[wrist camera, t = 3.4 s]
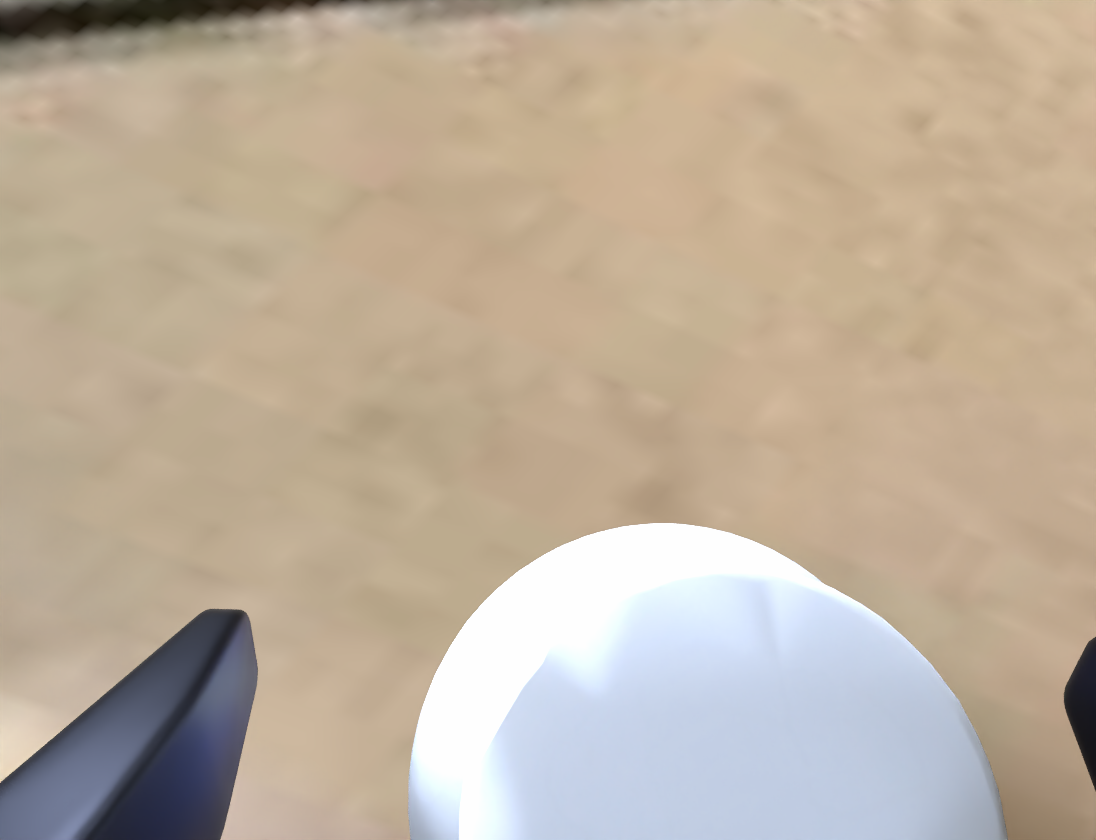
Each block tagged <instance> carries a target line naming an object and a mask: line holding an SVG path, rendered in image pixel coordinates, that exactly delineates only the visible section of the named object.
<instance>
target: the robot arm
mask: <svg viewBox="0 0 1096 840" xmlns="http://www.w3.org/2000/svg"><path fill="white" fill-rule="evenodd" d="M257 676H258V667H257V660H256V654H255V648H254V642H253V636H252V630H251V624H250V620H249V617H248V615H247V613H246V612H244V611H242V610H234V609H208V610H205V611H203V612H202V613H200V614H199V615H198V616H197V617H195V618H194V619H193V620H192V621H191V622H189V623H188V624H187V625H186V626H185V627H184V628H182V629H181V630H180V631H179V632H178V633H176V634H175V635H174V636H173V637H172V638H171V639H169V640H168V641H167V642H166V643H165V644H163V645H162V646H161V647H160V648H159V649H158V650H156V651H155V652H154V653H153V654H152V655H150V656H149V657H148V658H147V659H146V660H145V661H143V662H142V663H141V664H140V665H139V666H137V667H136V668H135V669H134V670H133V671H132V672H130V673H129V674H128V675H127V676H126V677H124V678H123V679H122V680H121V681H120V682H119V683H117V684H116V685H115V686H114V687H113V688H112V689H110V690H109V691H108V692H107V693H106V694H104V695H103V696H102V697H101V698H100V699H99V700H97V701H96V702H95V703H94V704H93V705H91V706H90V707H89V708H88V709H87V710H86V711H84V712H83V713H82V714H81V715H80V716H78V717H77V718H76V719H75V720H74V721H73V722H71V723H70V724H69V725H68V726H67V727H65V728H64V729H63V730H62V731H61V732H60V733H58V734H57V735H56V736H55V737H54V738H52V739H51V740H50V741H49V742H48V743H47V744H45V745H44V746H43V747H42V748H41V749H40V750H38V751H37V752H36V753H35V754H34V755H32V756H31V757H30V758H29V759H28V760H27V761H25V762H24V763H23V764H22V765H21V766H19V767H18V768H17V769H16V770H15V771H14V772H12V773H11V774H10V775H9V776H8V777H6V778H5V779H4V780H3V781H2V782H1V783H0V840H220V839H221V836H222V832H223V829H224V826H225V822H226V817H227V813H228V809H229V805H230V801H231V797H232V792H233V788H234V783H235V779H236V775H237V770H238V766H239V761H240V757H241V753H242V748H243V744H244V739H245V735H246V731H247V726H248V722H249V717H250V713H251V709H252V704H253V700H254V695H255V691H256V686H257ZM1064 704H1065V709H1066V713H1067V716H1068V718H1069V721H1070V724H1071V726H1072V729H1073V732H1074V734H1075V737H1076V740H1077V742H1078V745H1079V748H1080V750H1081V753H1082V756H1083V758H1084V761H1085V764H1086V766H1087V769H1088V772H1089V775H1090V777H1091V780H1092V783H1093V785H1094V788H1095V791H1096V637H1095V638H1093V639H1092V640H1090V641H1089V642H1088V644H1087V645H1086V647H1085V649H1084V651H1083V653H1082V655H1081V657H1080V659H1079V661H1078V663H1077V665H1076V667H1075V669H1074V671H1073V673H1072V675H1071V677H1070V679H1069V681H1068V682H1067V685H1066V687H1065V692H1064Z"/></svg>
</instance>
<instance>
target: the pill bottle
mask: <svg viewBox="0 0 1096 840" xmlns="http://www.w3.org/2000/svg"><path fill="white" fill-rule="evenodd" d="M408 814H409V825H410V837H411V840H1008V836H1007V831H1006V826H1005V821H1004V816H1003V810H1002V804H1001V800H1000V795H999V791H998V788H997V785H996V782H995V779H994V775H993V772H992V769H991V766H990V763H989V761H988V759H987V756H986V754H985V752H984V749H983V747H982V745H981V742H980V740H979V738H978V735H977V733H976V731H975V730H974V728H973V726H972V724H971V722H970V721H969V719H968V717H967V715H966V713H965V711H964V710H963V708H962V706H961V704H960V702H959V700H958V699H957V697H956V696H955V695H954V694H953V692H952V691H951V690H950V688H949V687H948V686H947V684H946V683H945V682H944V680H943V679H942V678H941V677H940V675H939V674H938V673H937V671H936V670H935V669H934V667H933V666H932V665H931V664H930V663H929V662H928V661H927V660H926V659H925V658H924V657H923V656H922V655H921V653H920V652H919V651H918V650H917V649H916V648H915V647H914V646H913V645H912V644H911V643H910V642H909V641H908V640H906V639H905V638H904V637H903V636H902V635H901V634H900V633H899V632H898V631H896V630H895V629H894V628H893V627H892V626H891V625H890V624H889V623H887V622H886V621H885V620H884V619H883V618H881V617H880V616H878V615H877V614H875V613H874V612H872V611H871V610H869V609H868V608H867V607H865V606H864V605H862V604H860V603H859V602H857V601H855V600H853V599H851V598H850V597H848V596H846V595H844V594H842V593H841V592H839V591H837V590H835V589H833V588H831V587H829V586H826V585H824V584H823V583H822V582H821V581H820V580H818V579H817V578H816V577H815V576H813V575H812V574H811V573H809V572H808V571H806V570H805V569H804V568H802V567H801V566H799V565H798V564H797V563H795V562H793V561H791V560H790V559H788V558H786V557H784V556H783V555H781V554H779V553H777V552H776V551H774V550H772V549H770V548H767V547H765V546H763V545H761V544H758V543H756V542H754V541H752V540H749V539H746V538H743V537H740V536H737V535H734V534H731V533H727V532H723V531H718V530H714V529H710V528H705V527H698V526H691V525H684V524H645V525H634V526H626V527H620V528H616V529H612V530H607V531H603V532H598V533H595V534H592V535H589V536H585V537H583V538H580V539H578V540H575V541H573V542H570V543H568V544H566V545H563V546H561V547H559V548H557V549H555V550H553V551H551V552H549V553H547V554H545V555H544V556H542V557H540V558H539V559H537V560H536V561H534V562H532V563H531V564H529V565H528V566H526V567H525V568H523V569H521V570H520V571H519V572H518V573H516V574H515V575H514V576H513V577H511V578H510V579H509V580H508V581H507V582H505V583H504V584H503V585H502V586H500V587H499V588H498V589H497V590H496V591H495V592H494V593H493V594H492V595H491V596H490V597H489V598H488V599H487V600H486V601H485V602H484V603H483V604H482V605H481V606H480V607H479V609H478V610H477V611H476V612H475V613H474V614H473V615H472V617H471V618H470V619H469V620H468V621H467V623H466V624H465V625H464V627H463V628H462V630H461V631H460V633H459V634H458V636H457V637H456V639H455V640H454V642H453V643H452V645H451V646H450V648H449V650H448V652H447V654H446V656H445V658H444V659H443V661H442V663H441V665H440V667H439V669H438V671H437V672H436V675H435V677H434V679H433V681H432V684H431V686H430V689H429V692H428V694H427V697H426V700H425V702H424V705H423V708H422V711H421V715H420V718H419V722H418V726H417V730H416V735H415V740H414V745H413V750H412V757H411V764H410V772H409V802H408Z"/></svg>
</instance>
